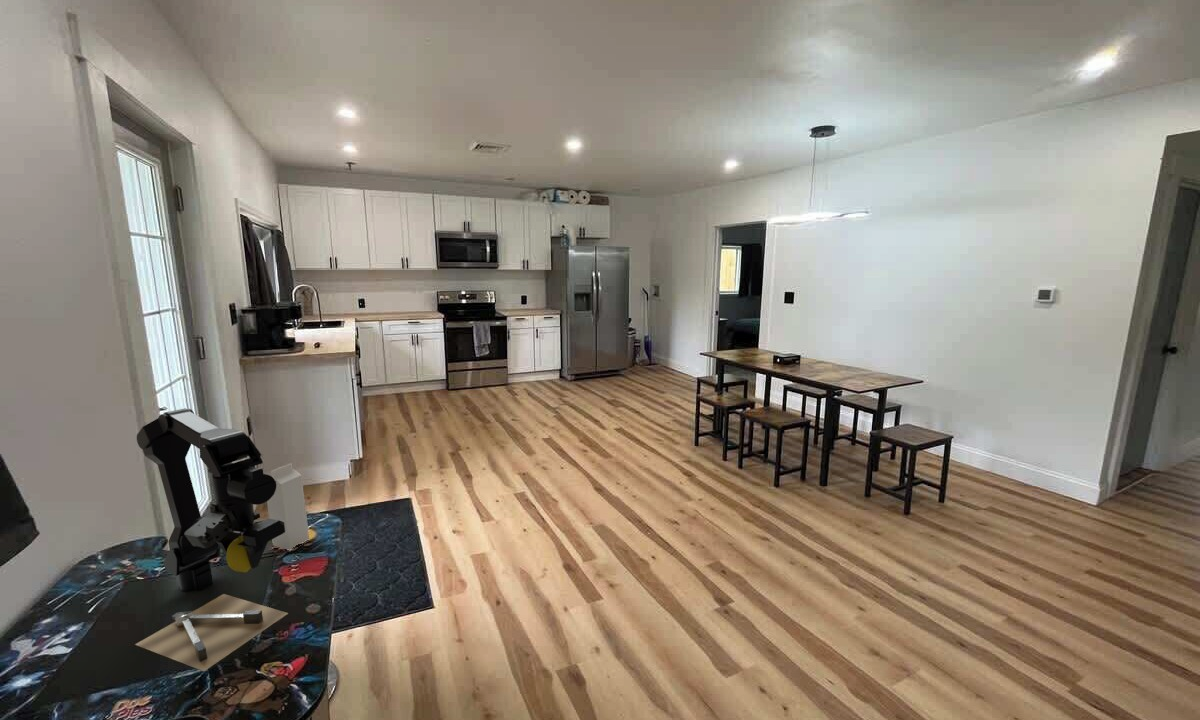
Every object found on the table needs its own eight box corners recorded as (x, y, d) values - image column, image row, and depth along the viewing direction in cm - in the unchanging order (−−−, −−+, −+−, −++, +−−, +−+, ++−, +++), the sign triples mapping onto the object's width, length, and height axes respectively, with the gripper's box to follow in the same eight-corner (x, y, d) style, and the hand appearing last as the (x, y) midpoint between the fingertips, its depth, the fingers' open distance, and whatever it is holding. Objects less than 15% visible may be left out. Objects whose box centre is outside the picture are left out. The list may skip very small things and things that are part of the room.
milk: (273, 548, 128) (261, 469, 124) (293, 537, 133) (283, 461, 130) (290, 552, 126) (279, 472, 122) (310, 540, 132) (300, 463, 128)
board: (136, 650, 92) (134, 644, 92) (224, 598, 107) (223, 593, 107) (204, 677, 86) (203, 671, 85) (289, 618, 101) (288, 613, 100)
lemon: (245, 581, 97) (240, 544, 95) (222, 578, 98) (216, 542, 96) (268, 565, 102) (263, 530, 101) (246, 563, 103) (240, 528, 102)
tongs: (142, 640, 93) (140, 630, 93) (208, 602, 104) (206, 593, 104) (201, 662, 87) (199, 651, 87) (264, 620, 98) (262, 610, 98)
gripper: (156, 506, 92) (169, 580, 95) (225, 518, 87) (237, 597, 89) (217, 483, 103) (227, 550, 105) (282, 493, 97) (292, 564, 100)
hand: (244, 565), depth 100 cm, fingers closed on lemon, 5 cm apart
